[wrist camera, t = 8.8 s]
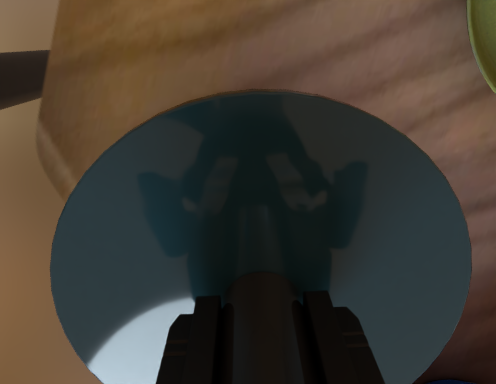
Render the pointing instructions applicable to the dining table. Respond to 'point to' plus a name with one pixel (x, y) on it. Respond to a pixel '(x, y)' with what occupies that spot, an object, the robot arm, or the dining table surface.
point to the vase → (449, 382)
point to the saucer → (483, 37)
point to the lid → (260, 239)
